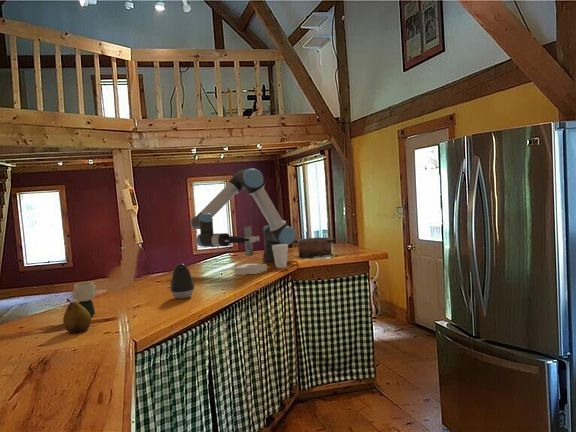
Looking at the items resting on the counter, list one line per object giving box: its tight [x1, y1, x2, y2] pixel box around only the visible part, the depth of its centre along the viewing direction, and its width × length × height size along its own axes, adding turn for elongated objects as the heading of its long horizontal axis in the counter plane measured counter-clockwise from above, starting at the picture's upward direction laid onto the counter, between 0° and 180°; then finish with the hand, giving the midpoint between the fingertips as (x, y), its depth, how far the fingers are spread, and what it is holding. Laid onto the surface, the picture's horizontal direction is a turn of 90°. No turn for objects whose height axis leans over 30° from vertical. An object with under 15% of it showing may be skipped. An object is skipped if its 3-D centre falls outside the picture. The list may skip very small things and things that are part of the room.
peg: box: [243, 225, 254, 257], centre depth 269 cm, size 4×4×16 cm
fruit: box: [62, 298, 92, 334], centre depth 167 cm, size 9×9×12 cm
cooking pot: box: [292, 237, 337, 258], centre depth 329 cm, size 30×22×11 cm
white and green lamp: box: [71, 281, 97, 317], centre depth 189 cm, size 11×7×13 cm, turn 153°
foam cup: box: [272, 244, 289, 269], centre depth 283 cm, size 10×9×13 cm
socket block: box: [234, 263, 268, 276], centre depth 270 cm, size 13×13×4 cm
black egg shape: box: [170, 263, 195, 300], centre depth 213 cm, size 10×10×15 cm
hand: (256, 239), depth 266 cm, fingers closed on peg, 4 cm apart
